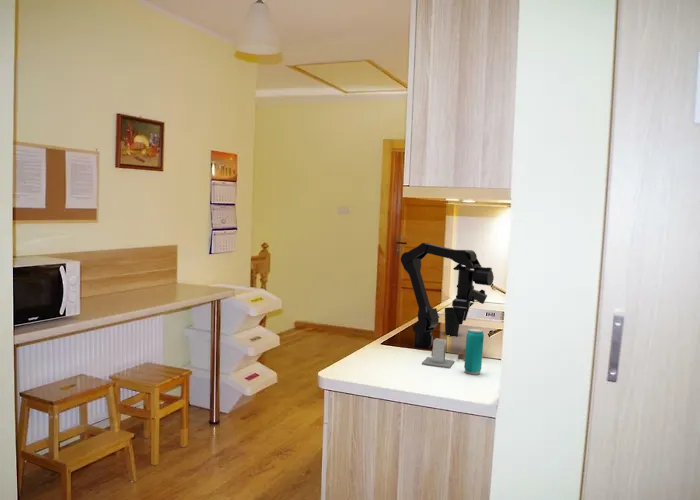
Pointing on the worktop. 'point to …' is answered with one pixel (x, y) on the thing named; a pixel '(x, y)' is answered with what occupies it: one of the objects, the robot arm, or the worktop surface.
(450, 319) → the cup
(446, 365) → the pad
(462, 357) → the vise
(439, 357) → the pale grey block
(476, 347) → the beverage can
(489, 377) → the worktop surface
